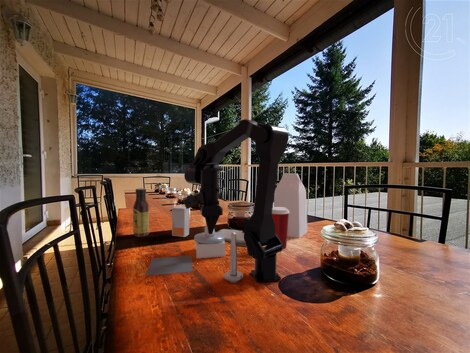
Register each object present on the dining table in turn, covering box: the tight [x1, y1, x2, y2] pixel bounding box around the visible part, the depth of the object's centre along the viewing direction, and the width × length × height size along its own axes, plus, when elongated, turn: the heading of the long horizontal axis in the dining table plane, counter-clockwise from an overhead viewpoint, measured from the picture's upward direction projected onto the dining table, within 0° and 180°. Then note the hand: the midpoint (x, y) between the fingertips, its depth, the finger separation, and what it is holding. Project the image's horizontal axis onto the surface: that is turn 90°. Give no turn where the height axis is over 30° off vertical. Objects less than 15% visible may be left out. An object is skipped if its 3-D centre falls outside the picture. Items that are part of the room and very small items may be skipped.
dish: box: [195, 241, 226, 259], centre depth 81 cm, size 9×9×5 cm
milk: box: [273, 172, 308, 239], centre depth 108 cm, size 12×12×26 cm
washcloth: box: [217, 228, 247, 247], centre depth 98 cm, size 12×18×3 cm, turn 68°
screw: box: [223, 232, 244, 284], centre depth 61 cm, size 13×5×5 cm
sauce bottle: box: [132, 187, 150, 238], centre depth 103 cm, size 6×6×20 cm
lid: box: [193, 225, 225, 244], centre depth 81 cm, size 10×10×4 cm
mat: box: [145, 255, 193, 277], centre depth 71 cm, size 12×12×1 cm
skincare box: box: [171, 206, 190, 238], centre depth 104 cm, size 6×4×12 cm
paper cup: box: [272, 206, 290, 250], centre depth 89 cm, size 8×8×14 cm
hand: (209, 232), depth 81 cm, fingers open, 3 cm apart
